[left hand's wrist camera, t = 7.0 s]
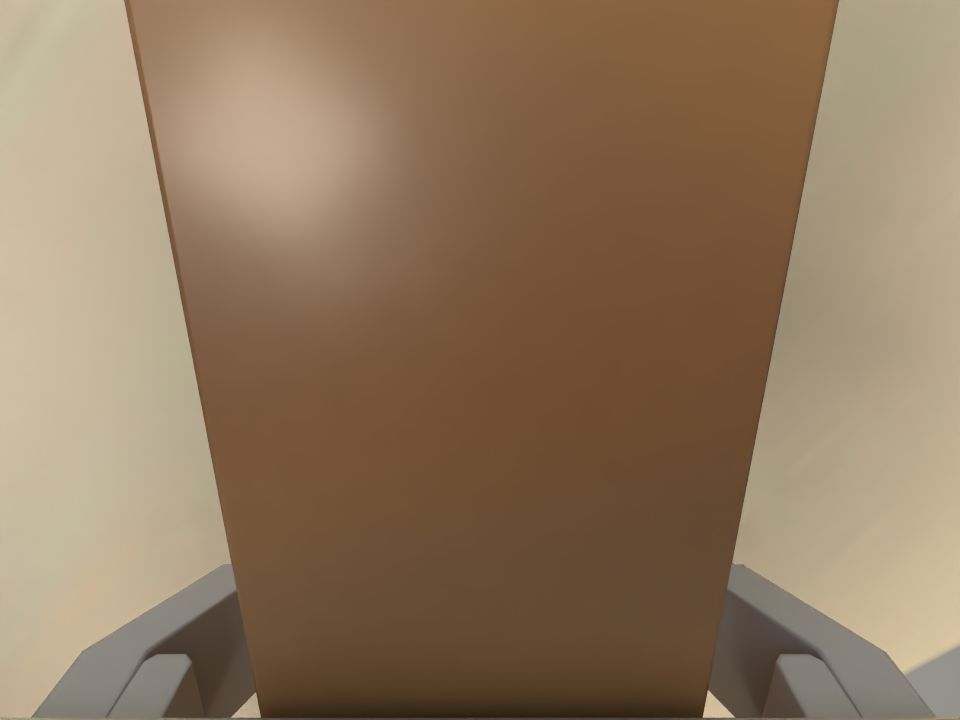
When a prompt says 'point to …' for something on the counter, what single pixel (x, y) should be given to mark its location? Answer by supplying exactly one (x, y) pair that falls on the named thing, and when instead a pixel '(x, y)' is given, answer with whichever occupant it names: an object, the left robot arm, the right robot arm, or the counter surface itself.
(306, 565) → the post
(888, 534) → the counter surface
